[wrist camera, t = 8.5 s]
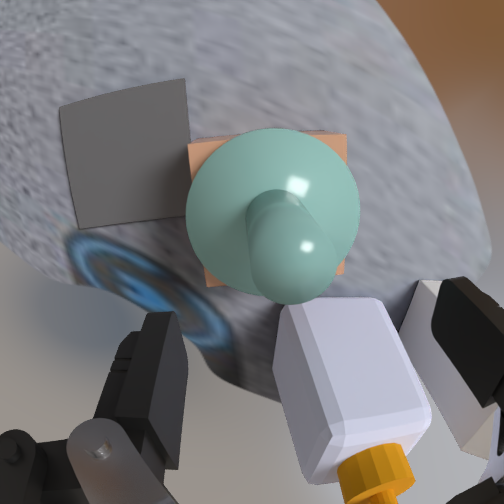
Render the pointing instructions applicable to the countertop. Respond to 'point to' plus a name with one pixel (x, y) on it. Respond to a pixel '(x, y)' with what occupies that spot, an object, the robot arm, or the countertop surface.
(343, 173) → the lid
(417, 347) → the milk carton
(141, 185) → the mat
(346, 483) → the soap bottle
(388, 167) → the countertop surface
